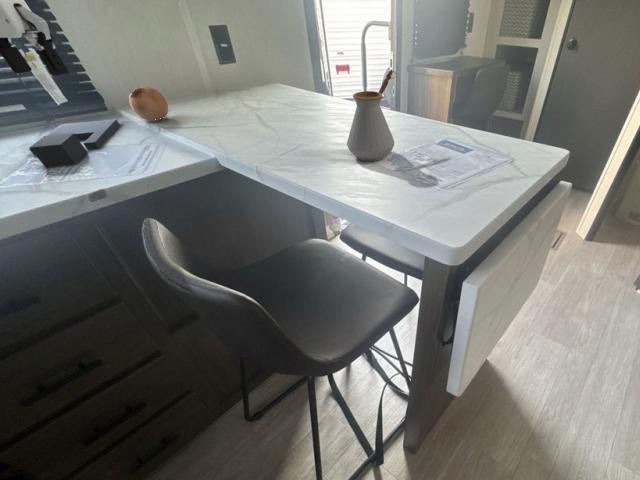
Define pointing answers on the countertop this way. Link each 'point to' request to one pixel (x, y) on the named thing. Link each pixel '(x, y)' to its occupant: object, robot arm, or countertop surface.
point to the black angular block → (58, 150)
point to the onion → (148, 103)
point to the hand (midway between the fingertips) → (42, 73)
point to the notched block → (88, 131)
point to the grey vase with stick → (370, 126)
